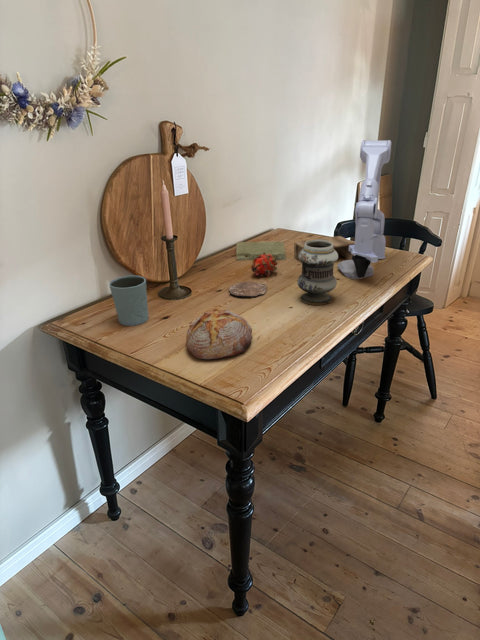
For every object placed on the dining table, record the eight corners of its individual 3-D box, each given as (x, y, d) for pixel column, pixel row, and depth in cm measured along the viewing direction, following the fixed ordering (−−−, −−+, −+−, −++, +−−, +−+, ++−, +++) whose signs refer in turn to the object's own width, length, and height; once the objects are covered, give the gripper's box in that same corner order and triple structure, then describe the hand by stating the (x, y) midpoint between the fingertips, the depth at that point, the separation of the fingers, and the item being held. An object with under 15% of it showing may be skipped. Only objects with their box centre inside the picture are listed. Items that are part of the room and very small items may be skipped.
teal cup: (155, 321, 136) (150, 282, 131) (121, 330, 132) (115, 290, 127) (143, 309, 144) (138, 272, 139) (111, 317, 140) (104, 279, 135)
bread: (173, 360, 118) (167, 323, 114) (210, 327, 134) (206, 294, 130) (232, 369, 112) (228, 331, 108) (263, 333, 128) (261, 299, 124)
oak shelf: (338, 251, 191) (339, 235, 188) (354, 259, 181) (355, 243, 179) (293, 257, 186) (294, 241, 183) (306, 266, 176) (307, 249, 173)
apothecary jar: (314, 310, 140) (316, 251, 133) (289, 297, 149) (289, 242, 142) (344, 300, 146) (347, 243, 138) (317, 289, 155) (320, 235, 148)
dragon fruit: (277, 274, 174) (256, 288, 167) (262, 258, 176) (240, 271, 169) (286, 260, 167) (264, 273, 160) (270, 243, 169) (247, 256, 162)
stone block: (352, 285, 162) (376, 275, 165) (350, 272, 160) (375, 263, 163) (333, 276, 173) (356, 267, 175) (331, 264, 170) (355, 255, 173)
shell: (266, 299, 149) (266, 289, 148) (226, 299, 151) (226, 289, 149) (267, 286, 160) (267, 276, 158) (230, 286, 161) (230, 276, 160)
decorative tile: (236, 248, 201) (236, 240, 199) (283, 247, 200) (283, 239, 199) (234, 262, 184) (234, 254, 183) (286, 261, 183) (286, 253, 182)
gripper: (341, 233, 160) (339, 271, 165) (365, 245, 147) (362, 285, 153) (360, 231, 162) (357, 269, 167) (385, 242, 149) (380, 282, 155)
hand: (360, 276), depth 160 cm, fingers closed
